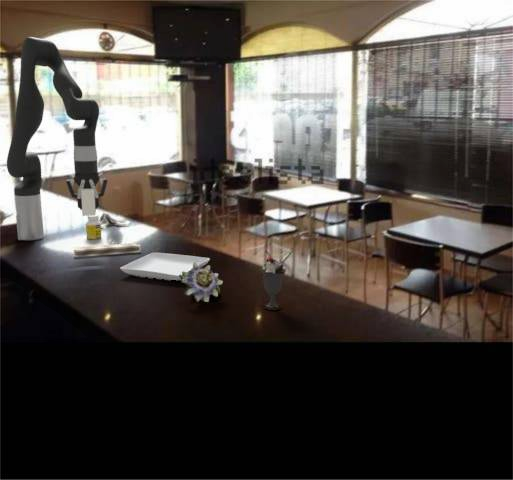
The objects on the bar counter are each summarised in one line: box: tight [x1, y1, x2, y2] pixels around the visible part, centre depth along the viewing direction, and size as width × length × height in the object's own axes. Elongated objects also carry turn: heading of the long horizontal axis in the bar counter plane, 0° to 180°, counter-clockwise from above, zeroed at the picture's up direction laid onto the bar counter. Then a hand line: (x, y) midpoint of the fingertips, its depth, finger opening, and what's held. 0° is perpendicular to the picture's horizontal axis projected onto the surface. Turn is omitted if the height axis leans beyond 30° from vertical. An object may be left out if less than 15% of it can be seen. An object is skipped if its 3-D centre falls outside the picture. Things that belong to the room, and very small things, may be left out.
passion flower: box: [179, 262, 224, 303], centre depth 153 cm, size 11×11×12 cm
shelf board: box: [73, 242, 142, 258], centre depth 201 cm, size 22×14×3 cm, turn 109°
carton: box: [81, 188, 97, 217], centre depth 196 cm, size 6×4×9 cm
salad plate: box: [119, 252, 211, 281], centre depth 178 cm, size 21×21×3 cm
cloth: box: [83, 211, 131, 230], centre depth 249 cm, size 22×19×6 cm
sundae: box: [259, 250, 287, 308], centre depth 145 cm, size 7×7×15 cm
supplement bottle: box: [85, 214, 102, 241], centre depth 217 cm, size 5×5×10 cm
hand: (88, 208), depth 197 cm, fingers closed on carton, 4 cm apart
